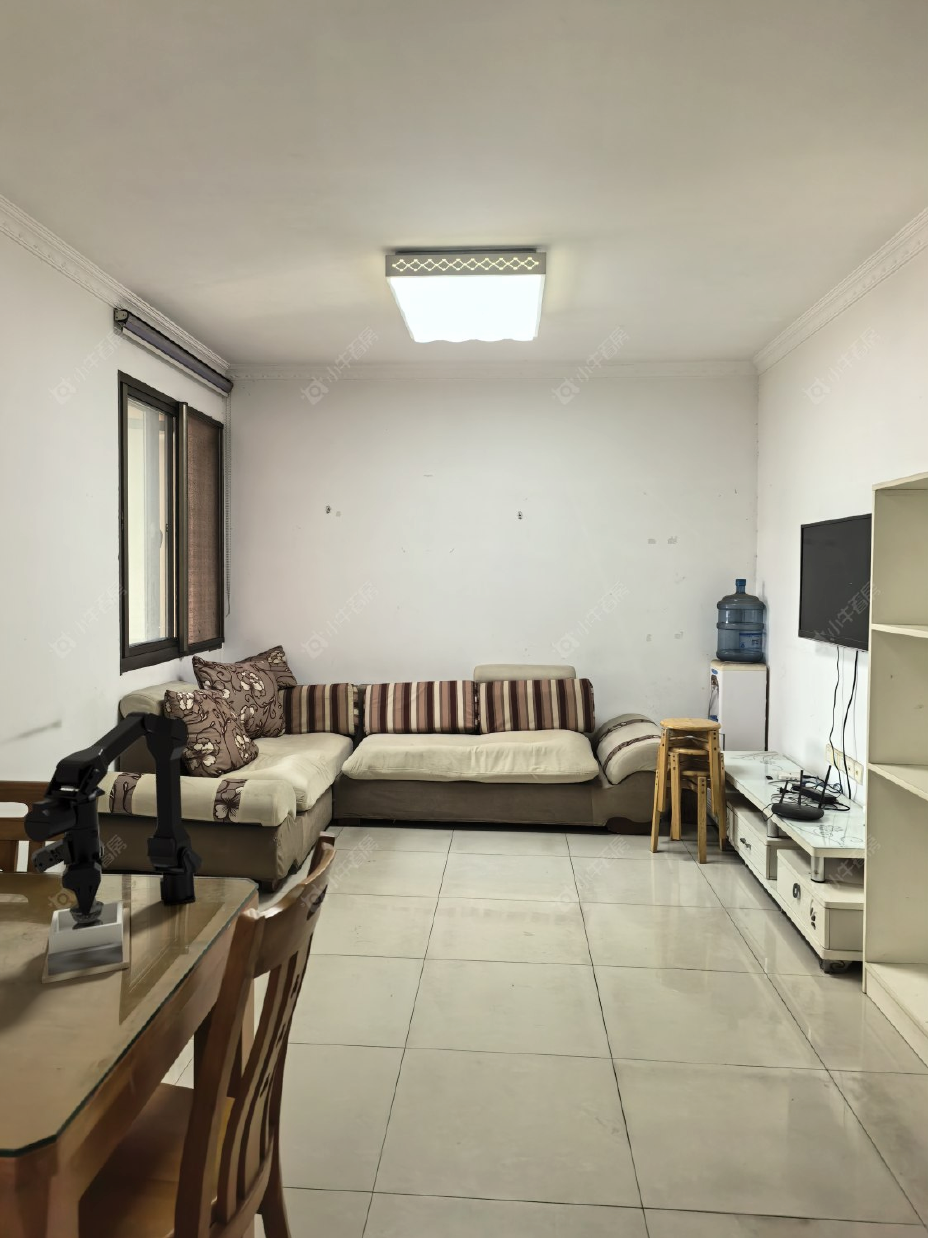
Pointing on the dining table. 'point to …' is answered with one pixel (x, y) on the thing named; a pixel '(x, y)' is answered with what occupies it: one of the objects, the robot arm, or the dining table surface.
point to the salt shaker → (89, 919)
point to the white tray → (86, 929)
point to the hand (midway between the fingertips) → (86, 907)
